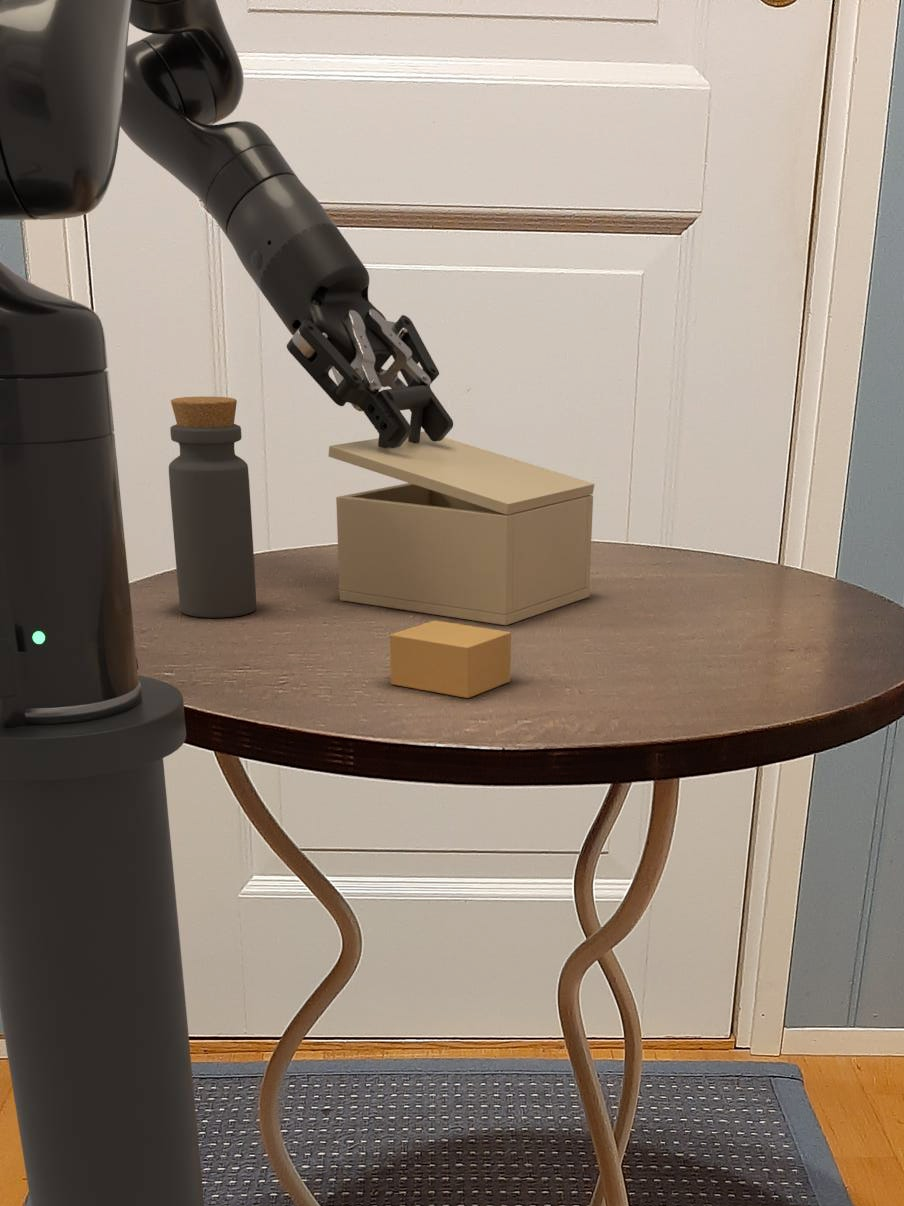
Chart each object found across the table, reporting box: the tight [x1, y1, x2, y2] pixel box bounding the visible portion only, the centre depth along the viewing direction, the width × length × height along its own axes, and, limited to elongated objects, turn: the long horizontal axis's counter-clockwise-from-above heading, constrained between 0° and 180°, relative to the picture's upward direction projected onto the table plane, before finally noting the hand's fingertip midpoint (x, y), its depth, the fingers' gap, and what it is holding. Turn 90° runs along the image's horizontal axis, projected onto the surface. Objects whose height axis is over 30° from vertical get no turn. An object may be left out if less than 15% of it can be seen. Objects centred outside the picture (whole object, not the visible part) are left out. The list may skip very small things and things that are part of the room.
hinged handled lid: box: [328, 385, 595, 515], centre depth 115 cm, size 16×13×5 cm
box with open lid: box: [335, 482, 594, 627], centre depth 119 cm, size 16×13×8 cm
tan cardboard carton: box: [389, 620, 512, 699], centre depth 97 cm, size 6×5×3 cm
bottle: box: [168, 396, 257, 619], centre depth 113 cm, size 6×6×15 cm
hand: (423, 436), depth 117 cm, fingers closed on hinged handled lid, 5 cm apart
